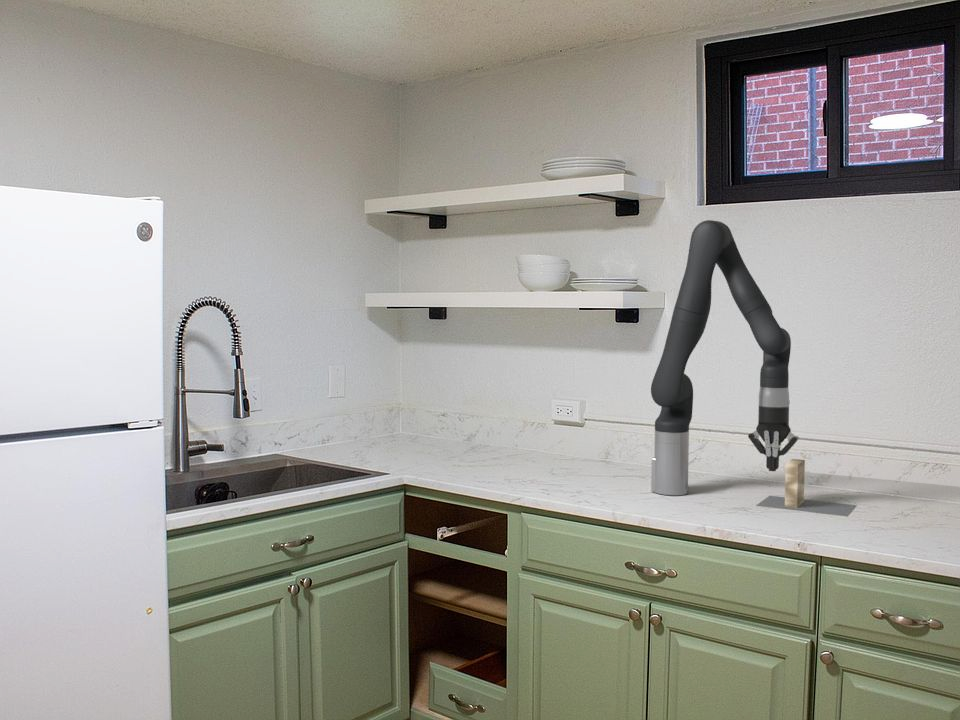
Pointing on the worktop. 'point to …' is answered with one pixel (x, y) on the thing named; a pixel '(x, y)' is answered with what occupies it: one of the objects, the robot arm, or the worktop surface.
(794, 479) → the cream brown rectangular block
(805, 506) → the rubber mat
